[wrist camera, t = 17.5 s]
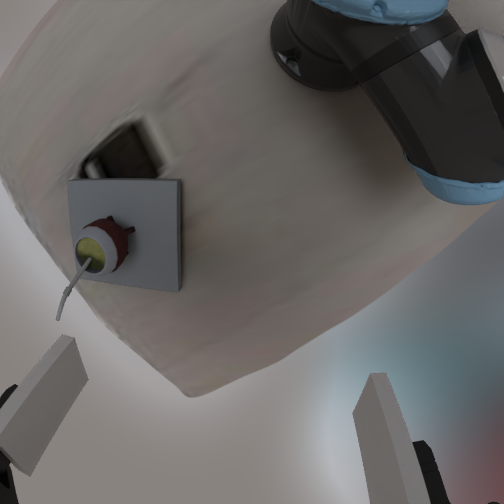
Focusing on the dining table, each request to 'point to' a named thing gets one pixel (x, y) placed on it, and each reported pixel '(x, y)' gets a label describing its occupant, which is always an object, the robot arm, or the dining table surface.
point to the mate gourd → (98, 251)
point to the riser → (142, 218)
